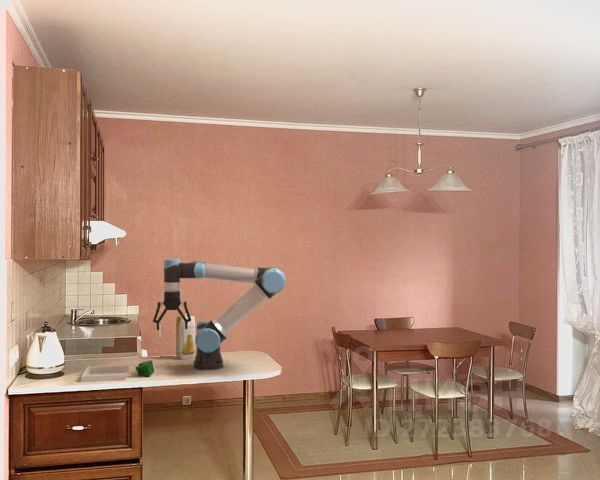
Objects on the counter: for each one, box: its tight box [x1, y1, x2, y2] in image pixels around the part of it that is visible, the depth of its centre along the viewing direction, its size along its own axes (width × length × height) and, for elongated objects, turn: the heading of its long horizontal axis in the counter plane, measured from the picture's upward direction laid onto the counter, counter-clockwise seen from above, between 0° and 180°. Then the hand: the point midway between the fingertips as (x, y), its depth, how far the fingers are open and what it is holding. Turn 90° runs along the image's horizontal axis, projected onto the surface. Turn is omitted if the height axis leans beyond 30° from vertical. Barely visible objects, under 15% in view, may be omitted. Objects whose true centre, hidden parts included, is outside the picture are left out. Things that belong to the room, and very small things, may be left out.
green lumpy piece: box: [134, 360, 155, 378], centre depth 296 cm, size 12×6×9 cm, turn 177°
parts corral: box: [80, 364, 130, 383], centre depth 294 cm, size 20×21×2 cm
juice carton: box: [175, 313, 196, 360], centre depth 336 cm, size 9×8×24 cm
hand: (172, 336), depth 299 cm, fingers open, 11 cm apart
